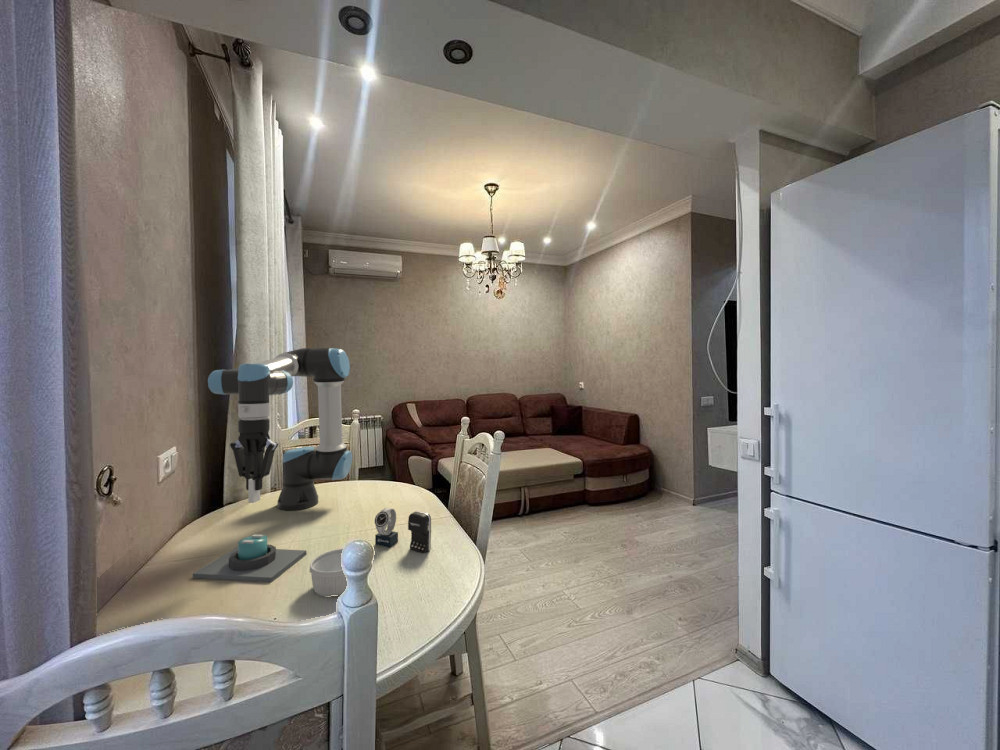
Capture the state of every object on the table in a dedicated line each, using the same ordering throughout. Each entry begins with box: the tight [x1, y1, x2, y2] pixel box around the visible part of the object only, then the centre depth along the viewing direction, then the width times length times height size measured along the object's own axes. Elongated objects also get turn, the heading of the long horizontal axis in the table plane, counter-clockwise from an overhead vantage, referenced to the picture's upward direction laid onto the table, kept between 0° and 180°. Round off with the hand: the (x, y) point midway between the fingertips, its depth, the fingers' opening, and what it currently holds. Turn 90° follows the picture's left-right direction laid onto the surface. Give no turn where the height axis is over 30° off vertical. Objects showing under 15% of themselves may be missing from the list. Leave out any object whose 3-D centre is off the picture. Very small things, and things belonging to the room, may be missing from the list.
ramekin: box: [309, 548, 347, 597], centre depth 102 cm, size 13×13×7 cm
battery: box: [407, 510, 432, 554], centre depth 123 cm, size 7×4×11 cm, turn 60°
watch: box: [374, 507, 399, 548], centre depth 127 cm, size 6×8×11 cm
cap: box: [237, 534, 268, 560], centre depth 112 cm, size 7×7×7 cm
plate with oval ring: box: [191, 543, 307, 583], centre depth 112 cm, size 16×22×4 cm
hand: (254, 501), depth 112 cm, fingers closed
